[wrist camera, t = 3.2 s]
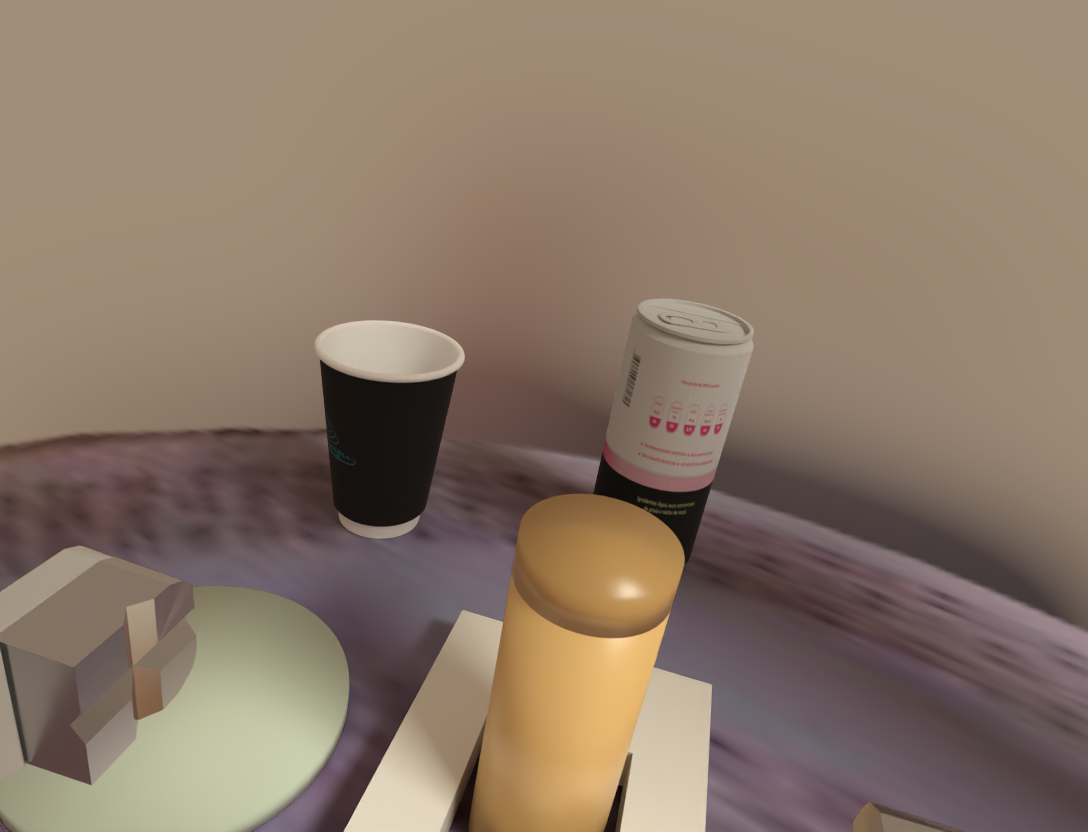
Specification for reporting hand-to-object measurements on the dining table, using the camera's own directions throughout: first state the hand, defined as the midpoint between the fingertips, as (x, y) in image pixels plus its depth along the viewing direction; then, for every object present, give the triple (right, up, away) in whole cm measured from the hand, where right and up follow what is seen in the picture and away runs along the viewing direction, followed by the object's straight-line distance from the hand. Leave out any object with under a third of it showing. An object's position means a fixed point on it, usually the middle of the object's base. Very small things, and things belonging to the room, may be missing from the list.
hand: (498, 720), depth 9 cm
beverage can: (+6, -5, +37) cm, 38 cm away
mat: (-14, -8, +21) cm, 27 cm away
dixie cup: (-9, -3, +35) cm, 37 cm away
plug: (0, -12, +19) cm, 23 cm away
